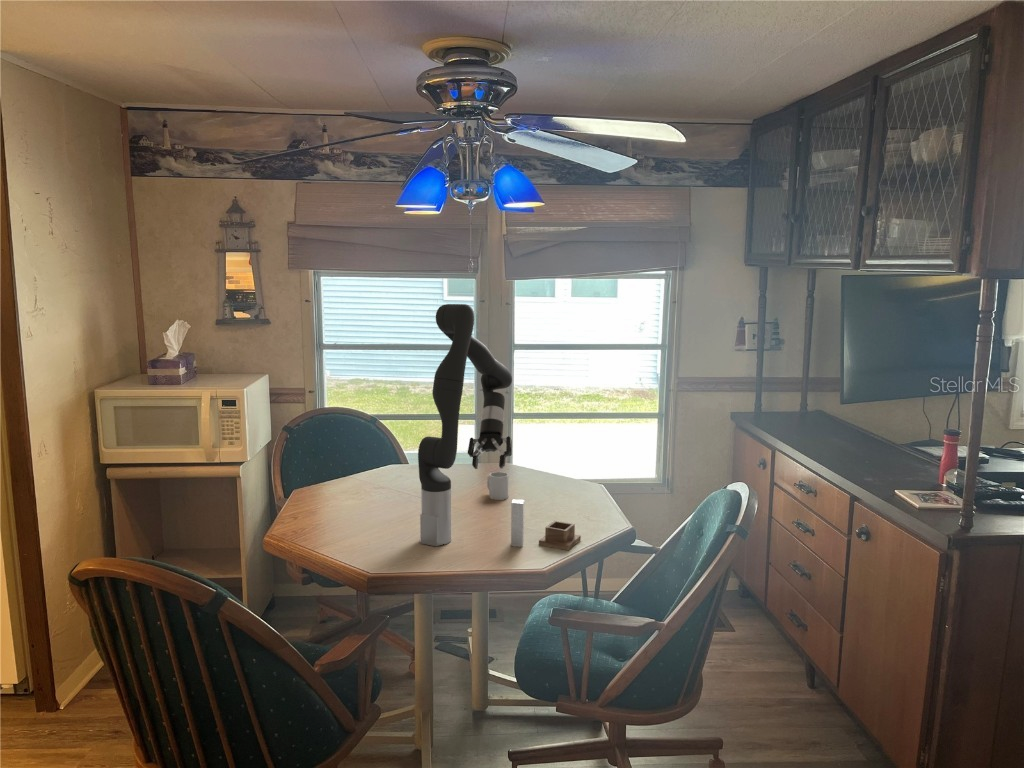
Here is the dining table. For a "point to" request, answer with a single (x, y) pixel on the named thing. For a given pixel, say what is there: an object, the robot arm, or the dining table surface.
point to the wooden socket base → (560, 536)
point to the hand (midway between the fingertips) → (488, 467)
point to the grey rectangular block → (517, 523)
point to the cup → (498, 485)
